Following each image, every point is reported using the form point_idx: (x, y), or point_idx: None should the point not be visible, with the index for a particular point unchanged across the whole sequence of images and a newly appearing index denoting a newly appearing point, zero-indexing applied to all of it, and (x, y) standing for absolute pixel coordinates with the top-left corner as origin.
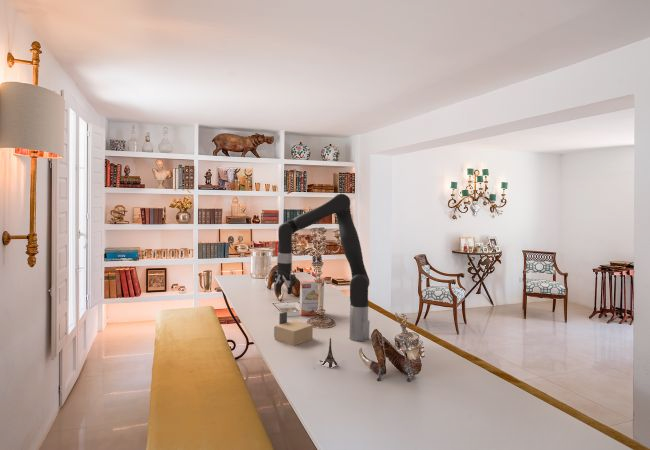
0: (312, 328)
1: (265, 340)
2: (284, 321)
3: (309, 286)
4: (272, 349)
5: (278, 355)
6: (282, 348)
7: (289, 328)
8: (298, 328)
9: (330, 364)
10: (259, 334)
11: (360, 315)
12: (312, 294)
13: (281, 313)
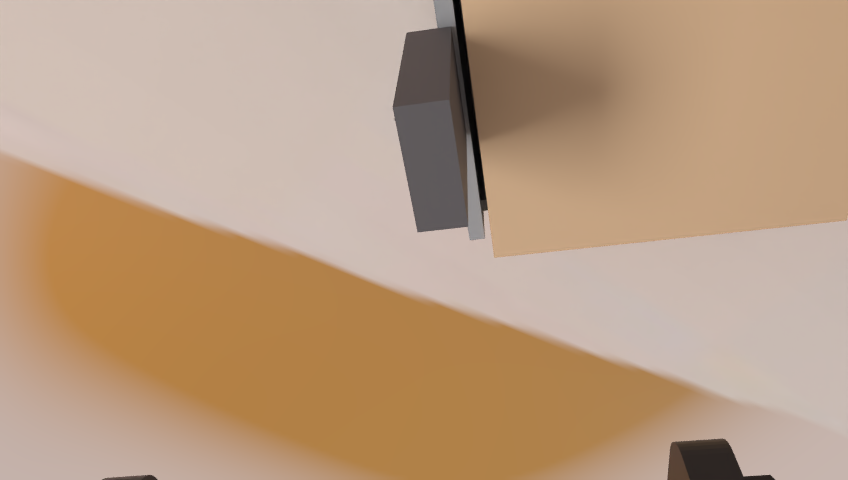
0: None
1: (447, 244)
2: (458, 95)
3: None
4: (681, 318)
5: (820, 353)
6: (736, 251)
7: (716, 190)
8: (823, 100)
9: None
10: (248, 193)
11: None
12: None
13: (459, 223)
